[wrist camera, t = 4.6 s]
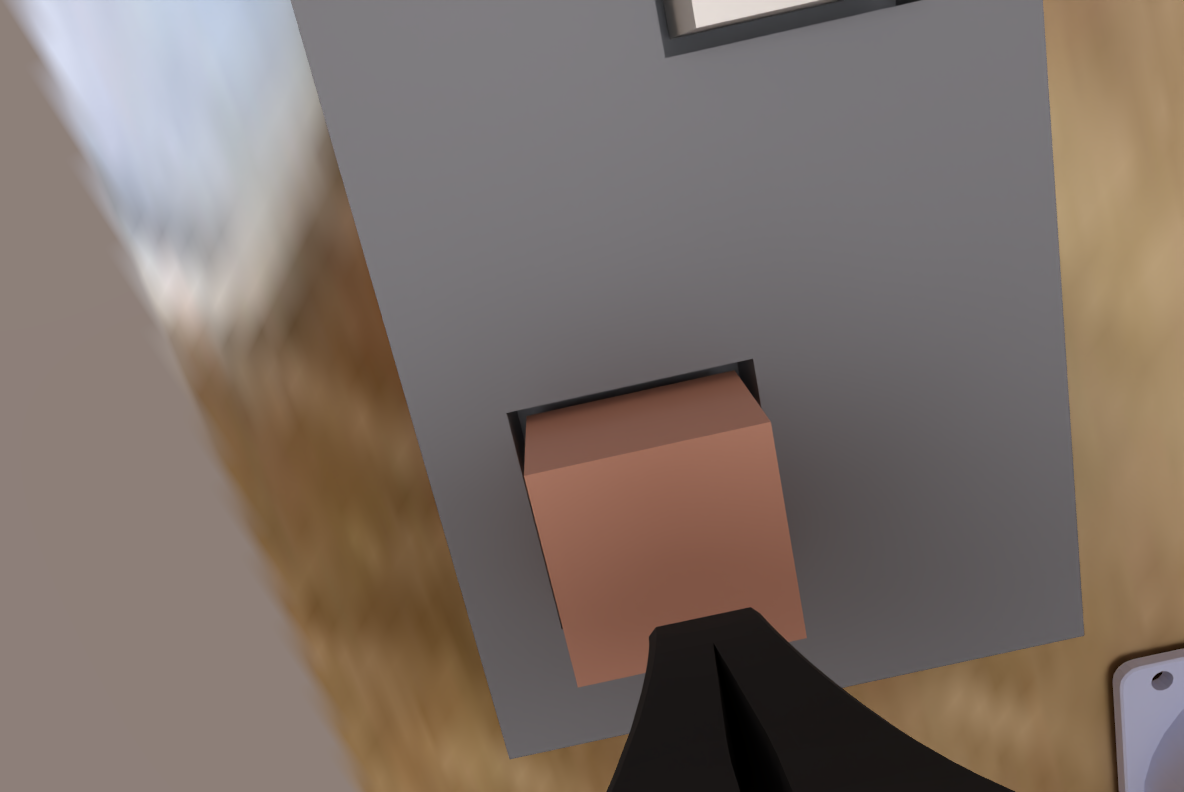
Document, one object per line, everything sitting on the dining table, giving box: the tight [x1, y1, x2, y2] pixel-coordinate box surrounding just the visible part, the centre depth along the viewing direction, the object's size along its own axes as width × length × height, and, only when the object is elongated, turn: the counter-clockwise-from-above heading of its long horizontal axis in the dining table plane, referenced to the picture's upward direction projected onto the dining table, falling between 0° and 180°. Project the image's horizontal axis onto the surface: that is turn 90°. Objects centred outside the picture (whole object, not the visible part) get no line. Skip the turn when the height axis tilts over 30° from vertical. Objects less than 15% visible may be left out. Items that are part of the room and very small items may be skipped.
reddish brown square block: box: [524, 370, 807, 687], centre depth 17 cm, size 4×4×3 cm
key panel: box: [291, 0, 1084, 759], centre depth 18 cm, size 12×20×3 cm, turn 12°
